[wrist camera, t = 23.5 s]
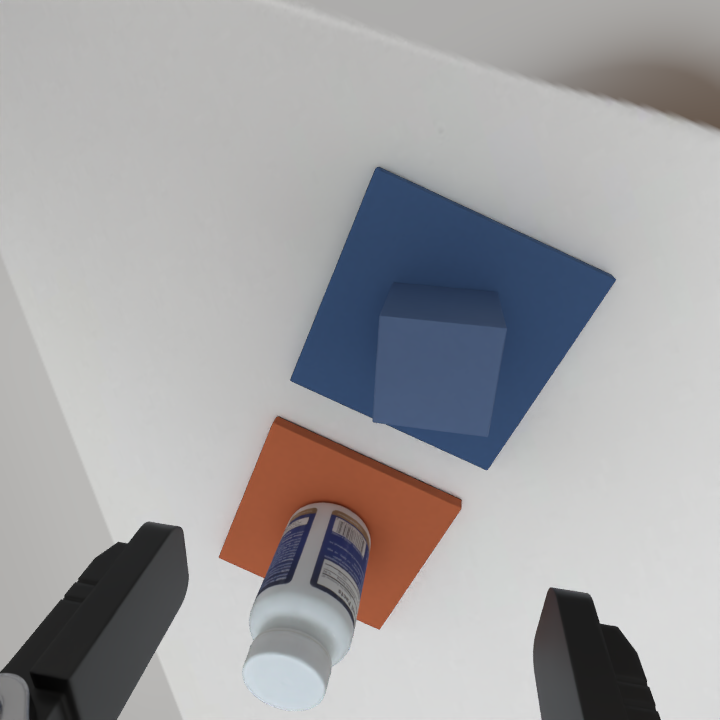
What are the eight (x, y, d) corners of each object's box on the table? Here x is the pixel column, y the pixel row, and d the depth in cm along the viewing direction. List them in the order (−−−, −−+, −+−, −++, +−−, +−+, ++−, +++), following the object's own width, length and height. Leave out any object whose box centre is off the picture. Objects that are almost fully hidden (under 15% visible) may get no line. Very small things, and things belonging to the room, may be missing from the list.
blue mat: (293, 374, 29) (289, 381, 28) (378, 166, 24) (375, 167, 23) (486, 462, 29) (487, 471, 29) (612, 274, 24) (617, 279, 23)
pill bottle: (292, 562, 34) (235, 713, 25) (284, 496, 32) (218, 636, 23) (374, 570, 33) (344, 729, 24) (370, 502, 31) (336, 651, 22)
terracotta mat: (223, 549, 36) (218, 557, 35) (277, 415, 30) (272, 422, 30) (381, 620, 36) (379, 630, 35) (461, 499, 31) (461, 508, 30)
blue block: (386, 374, 27) (372, 422, 23) (393, 282, 25) (379, 315, 21) (482, 385, 27) (487, 437, 22) (497, 291, 24) (507, 328, 20)
